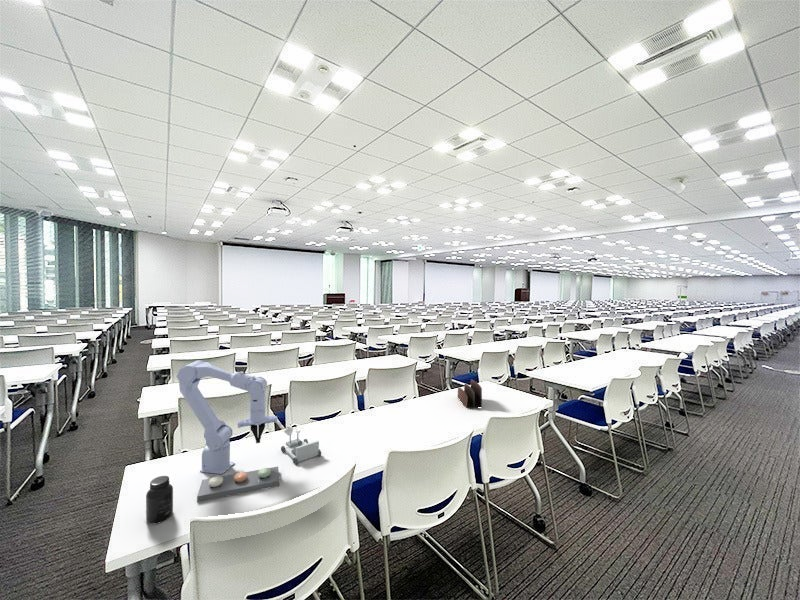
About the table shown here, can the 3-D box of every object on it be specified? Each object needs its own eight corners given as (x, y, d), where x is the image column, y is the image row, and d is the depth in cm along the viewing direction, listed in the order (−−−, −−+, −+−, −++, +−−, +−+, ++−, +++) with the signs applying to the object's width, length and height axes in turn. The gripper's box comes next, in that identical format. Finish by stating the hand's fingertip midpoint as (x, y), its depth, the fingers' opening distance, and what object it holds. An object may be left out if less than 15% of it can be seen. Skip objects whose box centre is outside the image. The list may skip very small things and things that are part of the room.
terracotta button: (233, 488, 117) (233, 480, 117) (234, 481, 121) (234, 473, 121) (247, 486, 119) (247, 477, 119) (247, 479, 123) (247, 471, 123)
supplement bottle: (140, 521, 101) (140, 483, 101) (163, 507, 107) (163, 471, 107) (155, 527, 99) (155, 488, 98) (178, 513, 105) (178, 476, 104)
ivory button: (208, 493, 114) (208, 484, 114) (209, 486, 118) (209, 477, 118) (222, 490, 116) (222, 482, 116) (223, 483, 120) (223, 475, 120)
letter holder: (471, 398, 223) (472, 377, 222) (481, 409, 203) (482, 386, 203) (457, 398, 222) (457, 377, 221) (466, 409, 202) (467, 386, 202)
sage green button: (258, 484, 120) (258, 475, 120) (258, 477, 124) (258, 469, 124) (270, 481, 122) (271, 473, 122) (270, 475, 126) (270, 467, 126)
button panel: (197, 502, 110) (197, 496, 110) (202, 485, 120) (202, 479, 119) (279, 485, 120) (279, 480, 120) (278, 471, 130) (278, 466, 130)
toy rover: (278, 428, 147) (303, 421, 155) (278, 449, 148) (302, 441, 155) (296, 443, 134) (321, 435, 142) (295, 466, 134) (321, 457, 142)
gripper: (236, 415, 124) (237, 450, 125) (277, 409, 130) (277, 443, 131) (238, 408, 131) (238, 441, 132) (276, 403, 137) (277, 435, 137)
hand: (258, 442), depth 132 cm, fingers closed
